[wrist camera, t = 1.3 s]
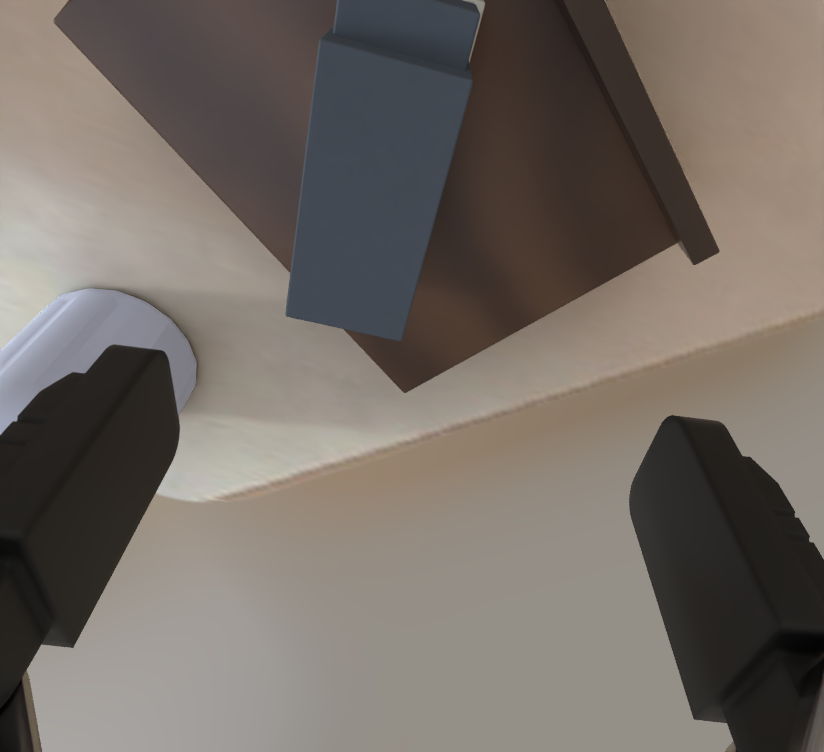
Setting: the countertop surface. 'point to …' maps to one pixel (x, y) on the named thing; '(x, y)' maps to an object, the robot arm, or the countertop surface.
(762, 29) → the countertop surface
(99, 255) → the countertop surface
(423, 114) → the stepped grey pillar
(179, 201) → the countertop surface
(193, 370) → the soap bottle
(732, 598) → the robot arm
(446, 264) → the board
